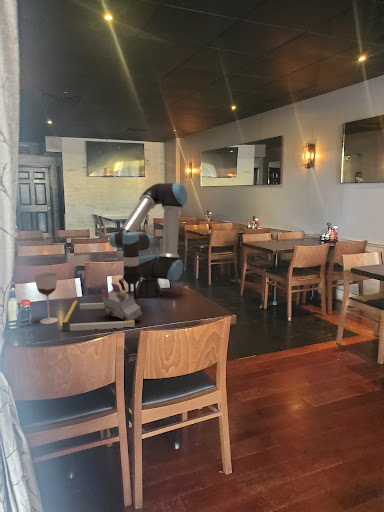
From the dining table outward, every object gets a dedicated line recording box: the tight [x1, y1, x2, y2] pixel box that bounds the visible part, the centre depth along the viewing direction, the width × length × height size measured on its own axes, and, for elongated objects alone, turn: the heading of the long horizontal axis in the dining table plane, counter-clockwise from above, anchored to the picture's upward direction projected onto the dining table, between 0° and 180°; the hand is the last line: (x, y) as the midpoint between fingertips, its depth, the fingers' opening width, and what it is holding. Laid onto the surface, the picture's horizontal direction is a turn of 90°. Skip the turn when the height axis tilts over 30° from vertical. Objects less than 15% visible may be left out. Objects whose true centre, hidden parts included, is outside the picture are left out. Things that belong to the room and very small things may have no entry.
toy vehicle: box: [100, 282, 144, 321], centre depth 178 cm, size 9×20×15 cm, turn 46°
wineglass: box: [34, 272, 59, 325], centre depth 176 cm, size 9×10×22 cm
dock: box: [62, 300, 136, 332], centre depth 182 cm, size 31×32×4 cm
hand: (132, 312), depth 184 cm, fingers closed
